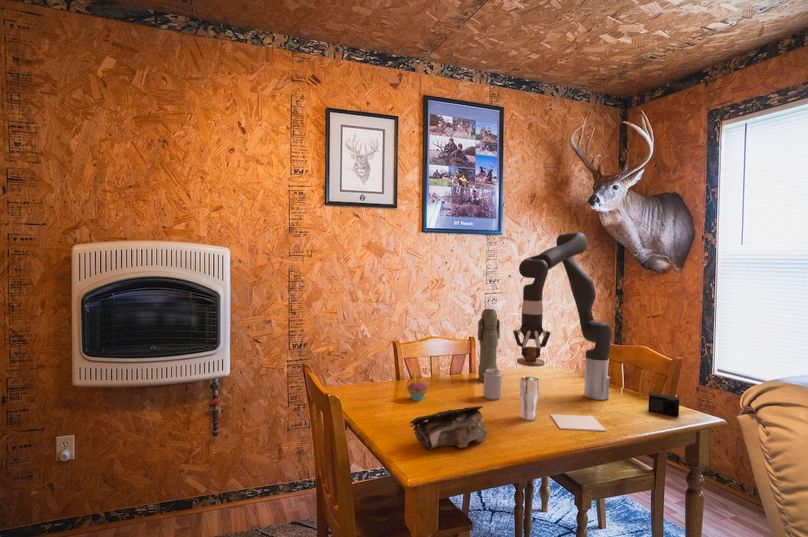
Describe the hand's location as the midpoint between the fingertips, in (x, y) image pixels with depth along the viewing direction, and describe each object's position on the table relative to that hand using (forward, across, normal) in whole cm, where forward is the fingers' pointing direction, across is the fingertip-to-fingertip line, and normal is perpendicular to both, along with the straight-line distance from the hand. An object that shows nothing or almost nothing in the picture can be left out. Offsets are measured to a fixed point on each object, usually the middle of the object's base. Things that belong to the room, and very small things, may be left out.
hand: (530, 357), depth 171 cm
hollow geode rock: (+24, +31, +27) cm, 48 cm away
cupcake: (+23, +43, -16) cm, 52 cm away
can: (+23, +11, -23) cm, 35 cm away
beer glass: (+23, 0, 0) cm, 23 cm away
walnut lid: (+2, 0, 0) cm, 2 cm away
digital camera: (+23, -55, -13) cm, 61 cm away
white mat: (+23, -17, +3) cm, 29 cm away
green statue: (+23, +10, -51) cm, 57 cm away
